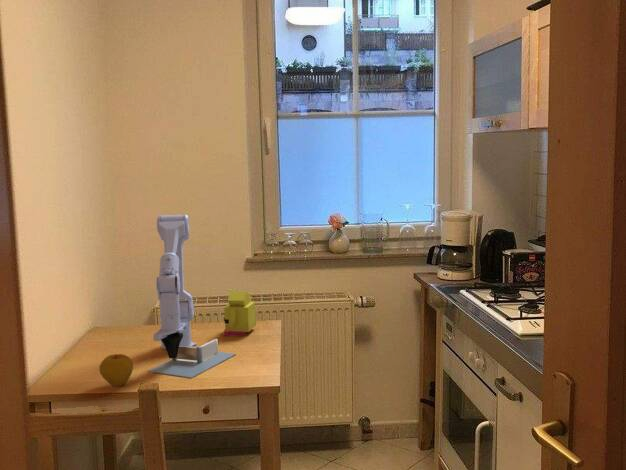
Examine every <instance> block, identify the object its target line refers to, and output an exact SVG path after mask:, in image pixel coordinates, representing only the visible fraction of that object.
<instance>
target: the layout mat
mask: <svg viewBox="0 0 626 470" xmlns="http://www.w3.org/2000/svg"><path fill="white" fill-rule="evenodd" d="M236 355H237V354H236V353H230V352H223V351H218V354H213V355H211V356H209V357H207V358H205V359H203V360H202V363H197V360H196V361H195V360H184V359H176V360H172V359H170V360H168V361H165V362H164V363H161V364H159V365H157V366H155V367H153V368H151V369H149V370H147V373H153V374H160V375H166V376H174V377H178V378H179V377H180V378H187V379H193V378H195V377H197V376H199V375H201V374H203V373H205V372H206V371H209V370H210V369H212V368H214V367H215V366H218V365H220V364H222V363H224V362H225V361H227V360H229V359H231V358H232V357H235V356H236Z"/></svg>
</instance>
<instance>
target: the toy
mask: <svg viewBox="0 0 626 470" xmlns="http://www.w3.org/2000/svg"><path fill="white" fill-rule="evenodd" d="M227 303H228V304H227V305H225V306H224V307H223V309H224V311H223V312H224V316H223V322H224V327H225V328H224V330H223V337H234V336H235V337H237V336H238V335H241V336H245V335H246V332H247V333H249V332H251V331H252V330H253V329H254V328H255V327H256V326H257V322H256V321H257V318H256V302H255V301H251V295H250V294H249V293H248V292H247V291H245V290H244V291H243V290H242V291H241V290H240V291H237V290H235V291H230V292H229V295H228V298H227ZM251 329H252V330H251Z"/></svg>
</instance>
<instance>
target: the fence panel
mask: <svg viewBox="0 0 626 470" xmlns="http://www.w3.org/2000/svg"><path fill="white" fill-rule="evenodd" d="M196 347H197V346H192V347H191V346H179V349H178V354H177V357H176V358H174V359H173V358H171V360H176V359H184V360H195V361H196V360H197V349H196Z"/></svg>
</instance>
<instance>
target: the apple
mask: <svg viewBox="0 0 626 470" xmlns="http://www.w3.org/2000/svg"><path fill="white" fill-rule="evenodd" d="M133 366H134V363H133V361H132V359H131V358H130V356H127V355H125V354H123V353H121V354H120V353H119V354H117V353H115V354H109V355H108V356H106V357H104V358H103V360H102V361H101V362H100V364H99V367H98V368H99V369H98V371H99V374H100V375H101V378H103V379H104V380H105V381H106V382H108V383H109V384H110V385H111V386H113V387H122V386H124V385H125V384H126V383H127V382H128V380H129V379H130V378H131V375H132V374H133V373H132V372H133V369H134V367H133Z"/></svg>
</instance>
